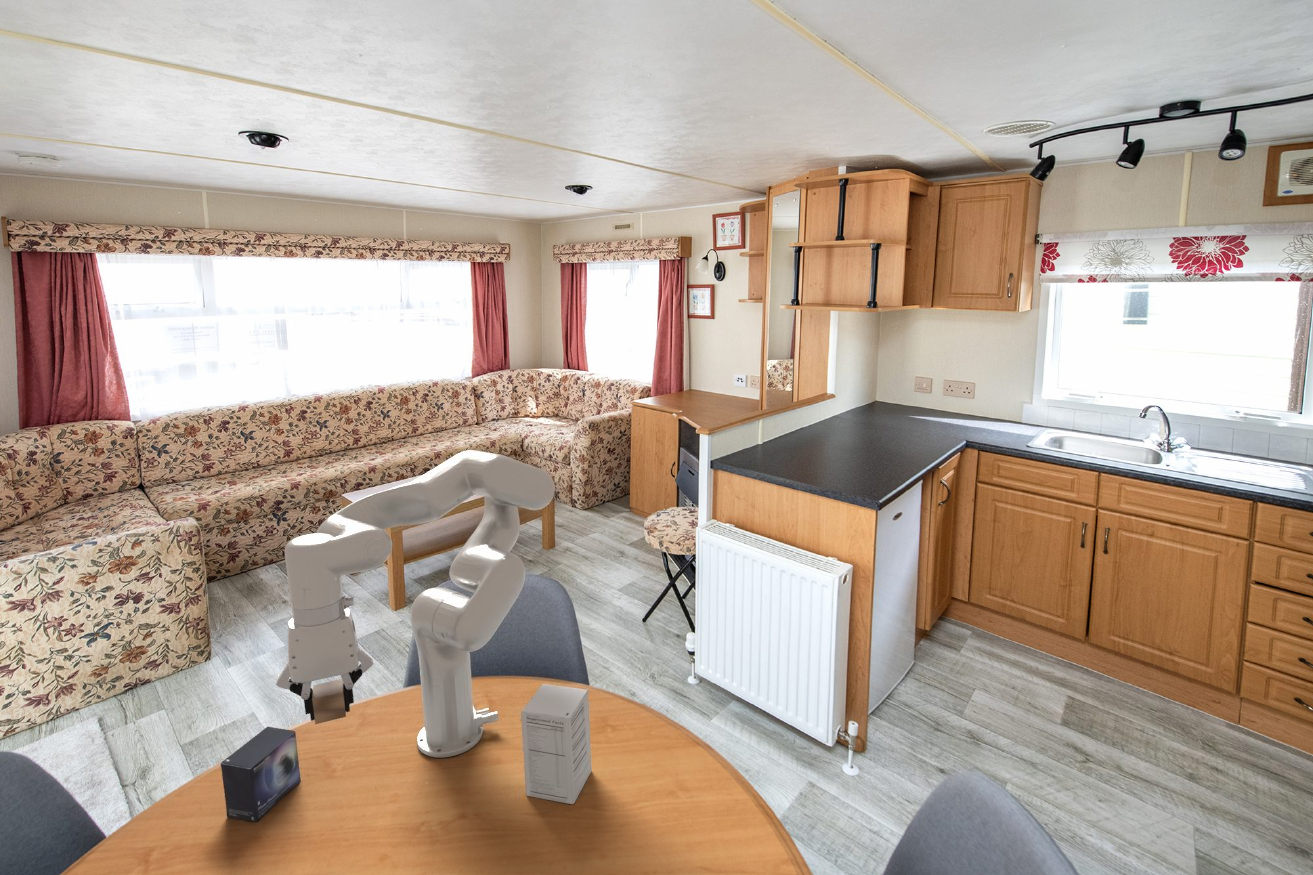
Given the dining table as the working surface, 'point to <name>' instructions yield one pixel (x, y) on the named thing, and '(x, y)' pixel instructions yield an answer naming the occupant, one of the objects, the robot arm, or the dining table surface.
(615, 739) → the dining table surface
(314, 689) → the brown wooden cube
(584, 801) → the dining table surface
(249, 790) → the small box
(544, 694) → the supplement box
